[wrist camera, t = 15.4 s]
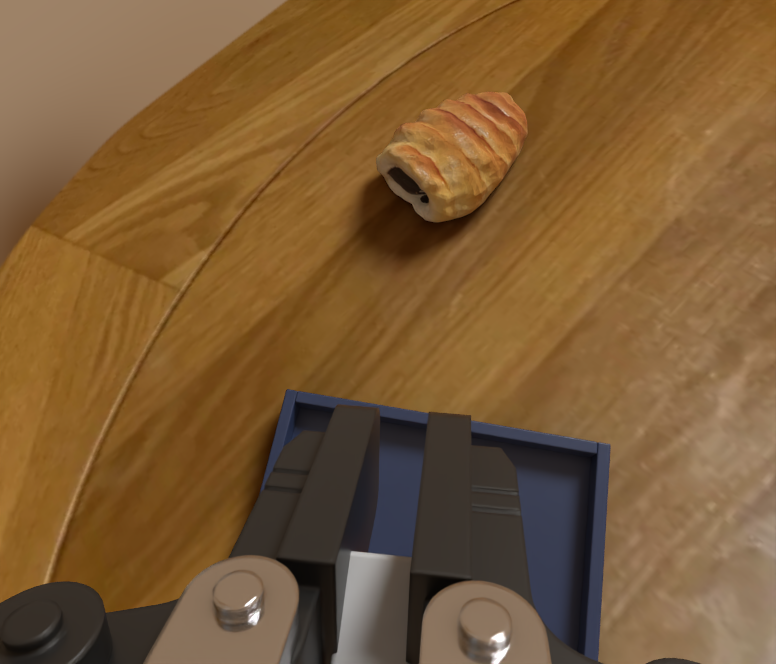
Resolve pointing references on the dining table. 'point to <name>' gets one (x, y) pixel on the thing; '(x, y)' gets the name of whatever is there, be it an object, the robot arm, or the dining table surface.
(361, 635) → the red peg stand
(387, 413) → the tray
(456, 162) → the pastry
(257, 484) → the dining table surface
